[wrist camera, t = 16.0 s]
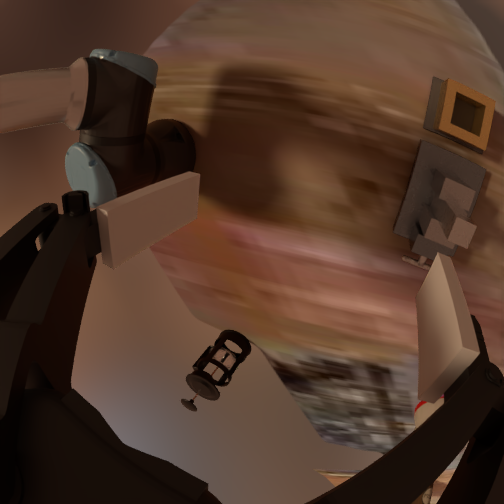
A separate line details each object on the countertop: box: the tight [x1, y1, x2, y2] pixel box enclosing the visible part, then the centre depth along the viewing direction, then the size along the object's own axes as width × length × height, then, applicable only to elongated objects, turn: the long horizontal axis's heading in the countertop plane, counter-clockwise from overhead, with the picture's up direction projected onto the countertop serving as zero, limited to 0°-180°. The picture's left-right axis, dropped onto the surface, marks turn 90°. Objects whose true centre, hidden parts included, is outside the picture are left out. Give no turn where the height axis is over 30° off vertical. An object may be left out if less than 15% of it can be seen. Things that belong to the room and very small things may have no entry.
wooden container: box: [411, 483, 433, 504], centre depth 64 cm, size 15×15×22 cm
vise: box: [393, 139, 486, 271], centre depth 33 cm, size 12×19×16 cm, turn 171°
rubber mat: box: [423, 77, 483, 154], centre depth 31 cm, size 11×9×1 cm
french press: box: [181, 330, 251, 411], centre depth 65 cm, size 12×9×23 cm
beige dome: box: [414, 396, 444, 430], centre depth 49 cm, size 14×14×15 cm
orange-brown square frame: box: [433, 78, 496, 151], centre depth 29 cm, size 8×8×5 cm
